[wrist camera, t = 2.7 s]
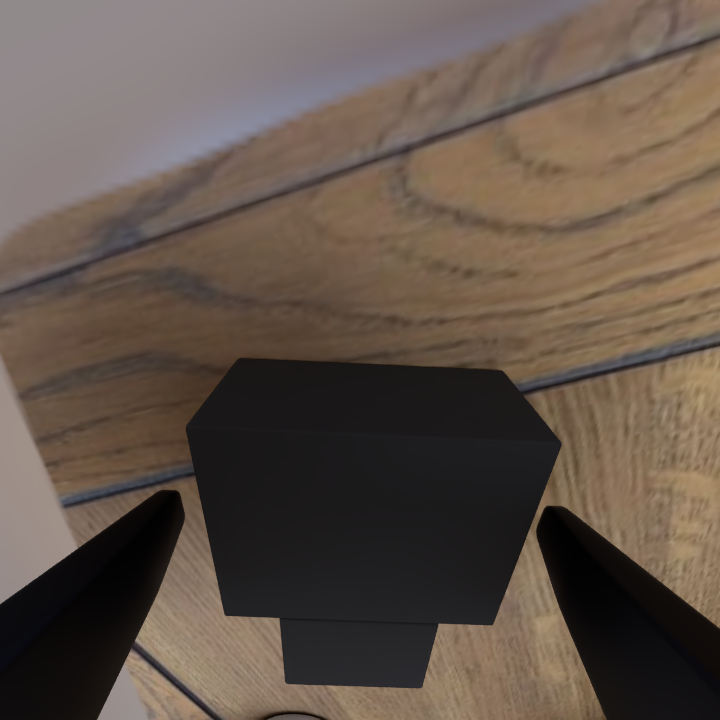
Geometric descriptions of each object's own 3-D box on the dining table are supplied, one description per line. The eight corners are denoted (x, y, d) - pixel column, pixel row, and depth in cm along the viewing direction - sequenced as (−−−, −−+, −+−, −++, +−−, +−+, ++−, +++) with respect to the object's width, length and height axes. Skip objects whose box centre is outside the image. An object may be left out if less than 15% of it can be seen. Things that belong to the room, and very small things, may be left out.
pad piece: (264, 582, 13) (238, 683, 10) (238, 357, 9) (183, 426, 6) (446, 589, 13) (468, 691, 10) (503, 369, 9) (564, 443, 6)
